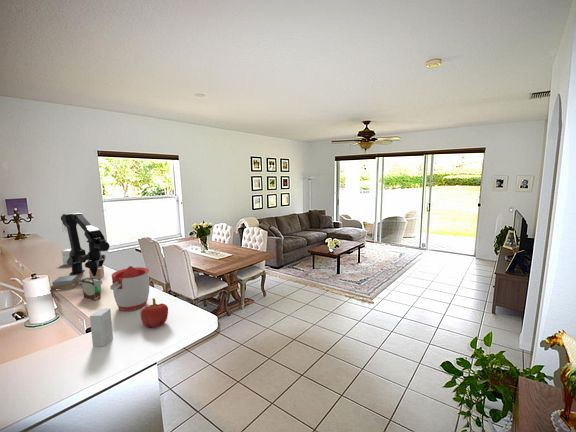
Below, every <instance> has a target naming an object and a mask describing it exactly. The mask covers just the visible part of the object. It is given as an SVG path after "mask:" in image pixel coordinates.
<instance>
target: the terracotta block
mask: <svg viewBox="0 0 576 432" xmlns="http://www.w3.org/2000/svg"><path fill="white" fill-rule="evenodd" d="M88 271H89V272H88V273H89V277H99V278H101V279H102V278H103V277H104V275H105V269H104V266H103V265H102V266H99V267H98V270H97V273H96V276H93V274H92V272H91V270H90V269H88Z"/></svg>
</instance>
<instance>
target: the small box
mask: <svg viewBox="0 0 576 432" xmlns="http://www.w3.org/2000/svg"><path fill="white" fill-rule="evenodd" d="M70 251H71V248H67V249H62V250H61V256H62V265H64V266H65V265H66V266H69V265H68V264H67V260H68V259H69V253H70Z"/></svg>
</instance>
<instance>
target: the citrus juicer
mask: <svg viewBox="0 0 576 432" xmlns="http://www.w3.org/2000/svg"><path fill="white" fill-rule="evenodd" d="M149 272H150V269H149V268H146V267H141V266H140V267H139V266H138V267H134V266H131V265H130V266H128V267H127V268H123V269H121V270H117V271H114V272H113V273H112V274H111V276H110V277H111V280H112V281H111V282H112V284H111V285H110V290H111V291H112V293H113V298H114V302H115V303H116V306H117V308H118V309H119V310H121V311H125V312H126V311H130V310H132V311H134V310H138V309H140V308H144V307H145V306H146V305H147V303H148V300H149V295H150V281H149V280H150V277H149Z"/></svg>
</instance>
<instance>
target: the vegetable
mask: <svg viewBox="0 0 576 432" xmlns="http://www.w3.org/2000/svg"><path fill="white" fill-rule="evenodd" d="M151 300H152V304H151V305H148V306H146V305H145V306H143V307H142V309H141V311H140V319H141V323H142V324H143V326H144V327H146V328H150V327H151V328H156V327H158V326H162V325H164V324H165V323H166V321H167V319H168V315H169V307H168V305H167V304H165V303H158V304H157V302H156V299H155V297H154V298H151Z"/></svg>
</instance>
